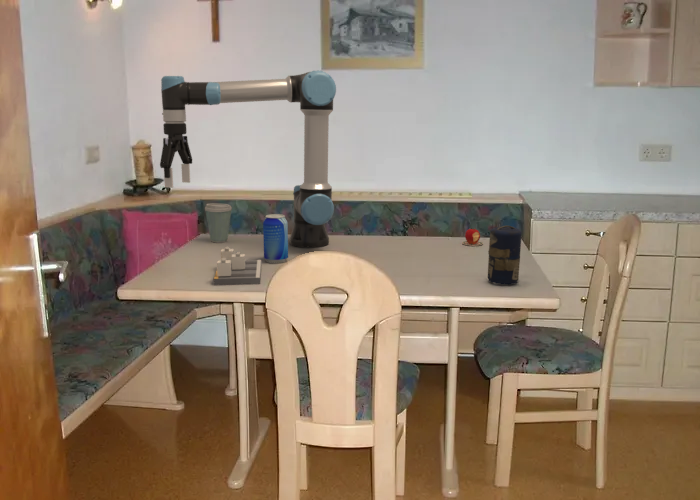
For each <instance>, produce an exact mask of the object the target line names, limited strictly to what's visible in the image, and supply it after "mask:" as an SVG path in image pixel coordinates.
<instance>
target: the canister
mask: <svg viewBox="0 0 700 500" xmlns="http://www.w3.org/2000/svg"><path fill="white" fill-rule="evenodd" d="M521 245H522V231H521V230H520V229H519V228H516V227H514V226H510V225H503V226H497V227H492V228H491V229H490V232H489V247H488V262H487V263H488V264H487V280H488V281H490V282H491V283H493V284H498V285H503V286H504V285H508V286H509V285H513V284H517V283H518V281H519V278H520V276H519V275H520V272H519V271H520V263H521V262H520V261H521V247H522V246H521Z"/></svg>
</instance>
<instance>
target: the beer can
mask: <svg viewBox="0 0 700 500" xmlns="http://www.w3.org/2000/svg"><path fill="white" fill-rule="evenodd" d="M262 227H263V228H262V231H263V259H264V260H265V262H266V263H269V264H283V263H286V262H287V260H288V258H289V235H288V234H289V232H288V231H289V230H288V229H289V227H288V220H287V219H286V216H285V214H282V213H281V214H278V213H273V214H267V215H265V218H264V220H263V222H262Z"/></svg>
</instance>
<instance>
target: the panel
mask: <svg viewBox="0 0 700 500" xmlns="http://www.w3.org/2000/svg"><path fill="white" fill-rule="evenodd" d="M232 254H235V249H234V248H230V246H225V248H221V250H220V260H217V262H216V269H215V270H216V271H215V274H214V277H213V285H214V286H232V285H233V286H234V285H236V286H239V285H242V286H243V285H244V286H245V285H260V284H261V278H262V276H261V275H262V259H257V260H256V259H255V260H254V259H251V260H249V259H248V260H247V259H245V269H238V270H232Z"/></svg>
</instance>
